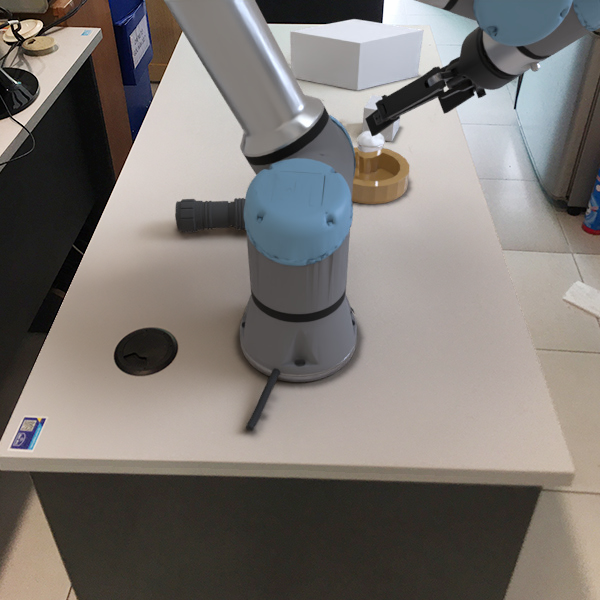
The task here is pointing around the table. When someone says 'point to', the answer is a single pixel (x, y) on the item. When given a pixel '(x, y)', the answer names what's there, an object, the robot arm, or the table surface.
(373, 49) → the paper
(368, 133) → the milkshake
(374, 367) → the table surface
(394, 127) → the white cube
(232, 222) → the flashlight
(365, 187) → the tan round shallow bowl
